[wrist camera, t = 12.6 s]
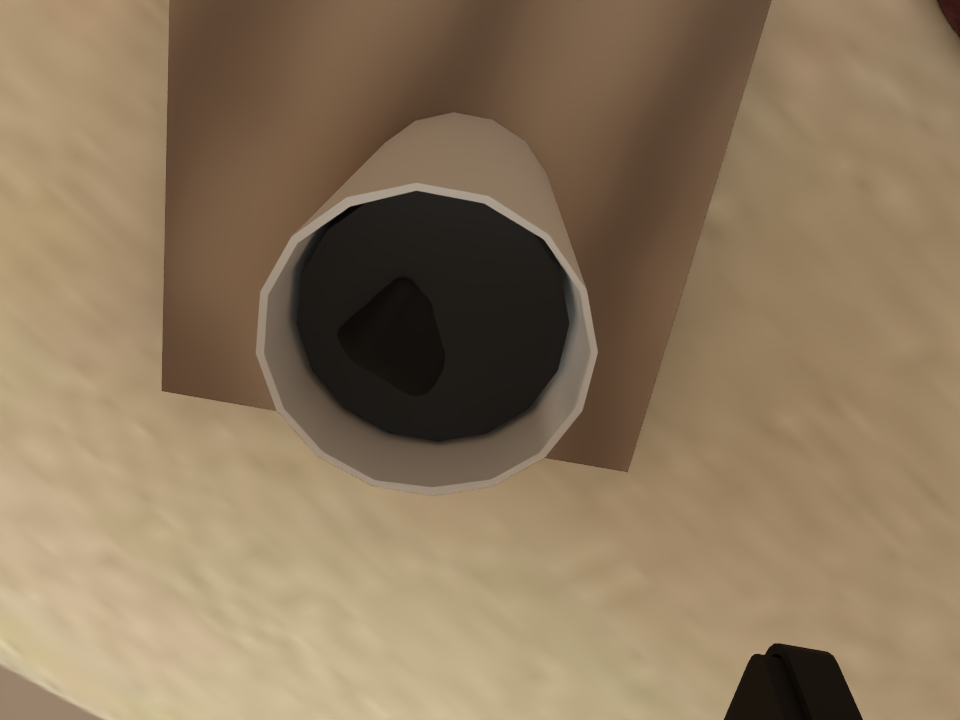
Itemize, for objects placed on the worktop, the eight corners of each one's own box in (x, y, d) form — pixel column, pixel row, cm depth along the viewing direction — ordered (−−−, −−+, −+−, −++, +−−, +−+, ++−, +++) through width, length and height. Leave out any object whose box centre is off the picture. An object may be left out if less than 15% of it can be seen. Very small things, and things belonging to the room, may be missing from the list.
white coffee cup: (461, 353, 28) (435, 548, 19) (301, 212, 26) (186, 353, 17) (614, 209, 25) (670, 352, 16) (451, 44, 24) (412, 102, 15)
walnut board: (766, -34, 24) (781, -32, 22) (622, 449, 31) (627, 472, 29) (192, -150, 23) (172, -156, 22) (177, 371, 30) (161, 390, 29)
